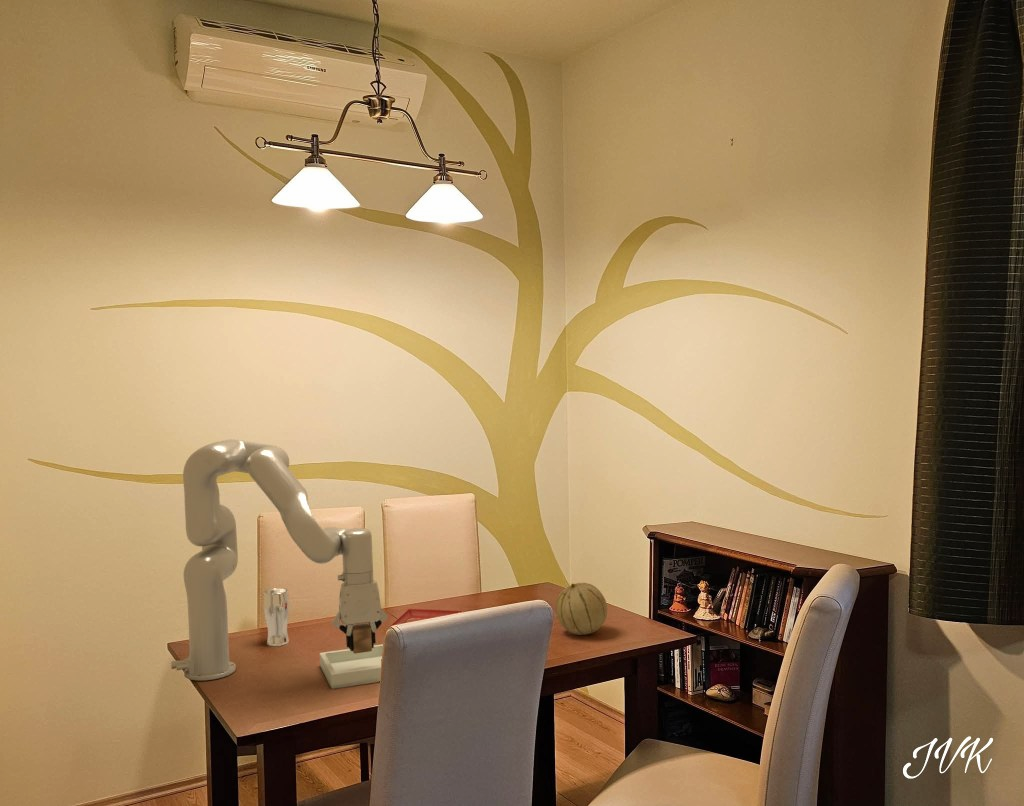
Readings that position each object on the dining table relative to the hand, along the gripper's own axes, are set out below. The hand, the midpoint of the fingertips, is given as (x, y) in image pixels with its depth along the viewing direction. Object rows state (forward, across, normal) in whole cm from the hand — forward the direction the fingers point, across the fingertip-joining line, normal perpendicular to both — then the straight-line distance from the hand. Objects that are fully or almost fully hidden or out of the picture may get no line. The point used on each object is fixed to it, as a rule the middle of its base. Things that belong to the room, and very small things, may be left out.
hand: (361, 647), depth 225 cm
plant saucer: (+7, +26, +30) cm, 40 cm away
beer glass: (+6, -17, +34) cm, 39 cm away
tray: (+6, 0, 0) cm, 6 cm away
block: (+1, 0, 0) cm, 1 cm away
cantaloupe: (+7, +65, +5) cm, 65 cm away
